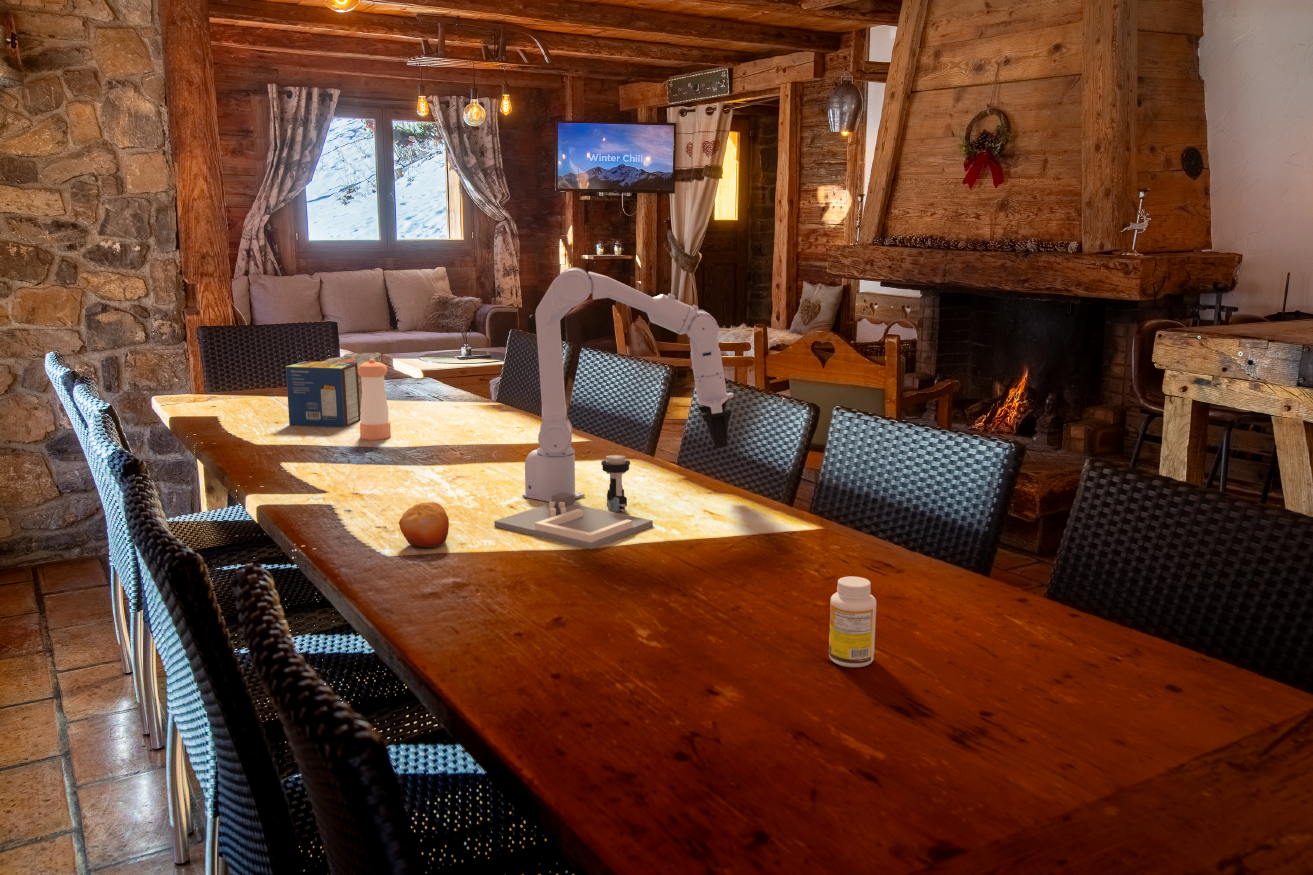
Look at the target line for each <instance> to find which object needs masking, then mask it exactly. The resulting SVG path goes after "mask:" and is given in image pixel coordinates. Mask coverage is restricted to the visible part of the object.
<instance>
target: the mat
mask: <svg viewBox="0 0 1313 875" xmlns="http://www.w3.org/2000/svg"><path fill="white" fill-rule="evenodd" d="M565 508H566V512H569V511H573V510H576V509H580V510H582V511H583V517H580V518H577V519H574V520H571V521H568V522H565V523H562V524H559V525H558V526H563V527H567V528H571V529H576V530H580V531H585V532H589V533H590V532H593V531H596V530H599V529H601V528H604V527H607V526H610V525H613V524H615V523H618V522H621V521H624V520H626V519H628V520H632V528H629V529H626V530H624V531H621V532H618V533H615V534H613V535H610V536H607V537H605V538H602V539H599V540H597V541H594V542H591V543H590V542H586V541H582V540H577V539H573V538H569V537H564V536H560V535H556V534H552V533H547V532H543V531H539V530H535V523H536V522H539V521H542V520H545V519H548V518H551V510H549V503H547V504H544V505H542V506H537V507H534V508H532V509H528V510H525V511H523V512H522V511H521V512H519V513H515V514H513V515H509V516H506V517H503V518H499V519H496V520H494V521H493V522H494V528H495V527H496V528H499V529H505V530H508V531H512V532H517V533H520V534H524V535H529V536H534V537H537V538H540V539H541V538H542V539H547V540H551V541H554V542H555V541H556V542H559V543H564V544H568V545H571V546H576V547H580V548H585V549H589V550H593V549H595V548H598V547H601V546H603V545H607V544H608V543H611V542H614V541H617V540H619V539H622V538H624V537H627V536H630V535H632V534H636V533H637V532H640V531H644V530H646V529H648V528H652V527H653V526H654V520H652V519H648V518H647V519H646V518H642V517H638V516H633V515H628V514H623V513H620V512H615V511H610V510H604V509H600V508H594V507H589V506H585V505H580V504H577V503H576V504H575V503H574V504H571V505H568V506H565ZM560 512H561V511H560Z"/></svg>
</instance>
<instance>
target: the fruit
mask: <svg viewBox="0 0 1313 875" xmlns="http://www.w3.org/2000/svg"><path fill="white" fill-rule="evenodd" d="M449 519H450V518H449V516H448V513H447V512H446V510H445V508H444V507H443V506H442V505H441V504H440V503H438V502H433V501H432V502H420V503H416V504H414V505H413V506H411V507H409V508H408V509H407V510H406V511H405V512H404V513H403V514H402V516H401V518H400V519H399V521H398V524H399V525H398V526H399V529H400V532H401V533H402V535H403V537H404V538H405V540H406V542H407V543H408V544H409V545H410V546H411V547H416V548H433V549H434V548H438V547H440V546H442V545H444V544H445V543H446V541H447V539H448V535H449V530H450V529H449V527H450V521H449Z"/></svg>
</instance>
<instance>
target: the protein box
mask: <svg viewBox="0 0 1313 875" xmlns="http://www.w3.org/2000/svg"><path fill="white" fill-rule="evenodd" d="M357 371H358V366H357V362H322V361H310V360H309V361H306V360H305V361H304V360H303V361H300V362H297V363H293V364H290V365H286V366H285V376H286V390H287V407H288V408H287V409H288V423H289V424H288V425H289V426H296V427H298V426H299V427H320V428H321V427H326V428H346V427H348V426H350V425H352V424H354V423H356V422H359V421H361V411H360V409H361V408H360V400H359V384H358V372H357Z"/></svg>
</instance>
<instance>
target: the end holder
mask: <svg viewBox="0 0 1313 875" xmlns="http://www.w3.org/2000/svg"><path fill="white" fill-rule="evenodd" d="M580 517H583V511H582V510H580V509H576V510H573V511H569V512H566V513H563V514H560V515H557V516H554V517H551V518H548V519H545V520H542V521H539V522H536V523H535V530H539V531H543V532H547V533H552V534H556V535H560V536H564V537H569V538H573V539H577V540H582V541H586V542H590V543H591V542H594V541H597V540H599V539H602V538H605V537H607V536H610V535H613V534H615V533H618V532H621V531H624V530H626V529H629V528H632V520H628V519H626V520H624V521H621V522H618V523H615V524H613V525H610V526H607V527H604V528H601V529H599V530H596V531H593V532H590V533H589V532H585V531H580V530H576V529H571V528H567V527H563V526H558V525H559V524H562V523H565V522H568V521H571V520H574V519H577V518H580Z"/></svg>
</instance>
